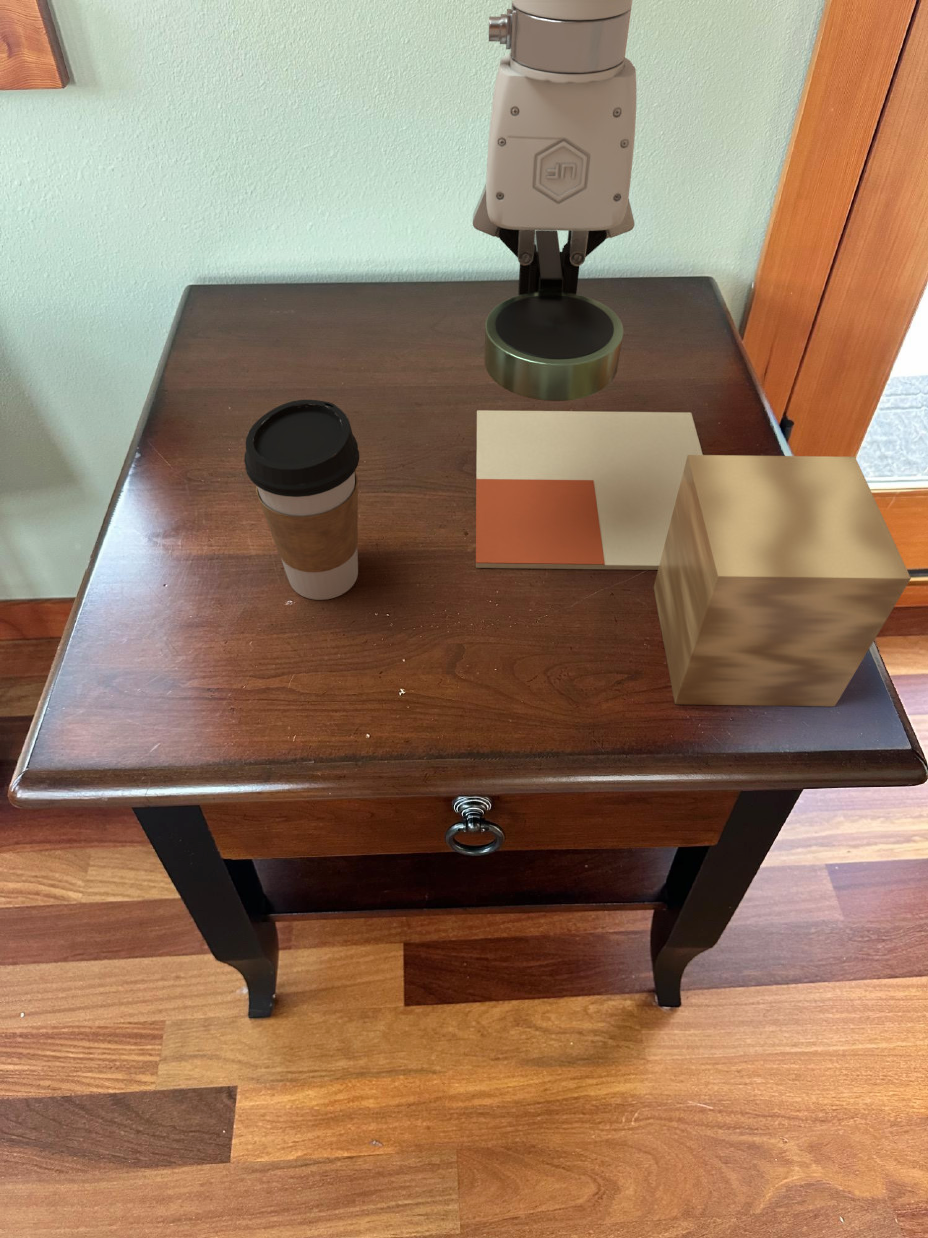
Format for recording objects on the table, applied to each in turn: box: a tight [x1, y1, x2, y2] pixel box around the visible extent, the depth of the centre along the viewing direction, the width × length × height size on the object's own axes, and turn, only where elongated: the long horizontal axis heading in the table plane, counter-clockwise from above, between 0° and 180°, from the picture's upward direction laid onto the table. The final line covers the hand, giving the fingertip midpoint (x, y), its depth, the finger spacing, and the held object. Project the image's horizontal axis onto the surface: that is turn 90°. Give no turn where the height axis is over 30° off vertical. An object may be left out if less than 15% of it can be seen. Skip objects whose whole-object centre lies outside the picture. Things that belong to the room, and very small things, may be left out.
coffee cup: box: [243, 399, 360, 601], centre depth 66 cm, size 8×8×15 cm
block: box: [653, 454, 912, 707], centre depth 61 cm, size 12×12×14 cm
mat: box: [475, 409, 704, 571], centre depth 79 cm, size 22×22×1 cm
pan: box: [483, 230, 624, 402], centre depth 64 cm, size 18×10×4 cm, turn 179°
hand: (546, 303), depth 68 cm, fingers closed on pan
